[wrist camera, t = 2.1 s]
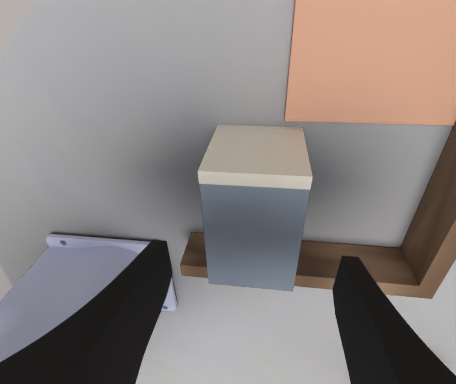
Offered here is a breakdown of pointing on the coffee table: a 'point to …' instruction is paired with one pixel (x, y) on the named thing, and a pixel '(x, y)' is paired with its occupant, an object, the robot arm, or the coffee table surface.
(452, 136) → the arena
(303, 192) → the block
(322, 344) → the coffee table surface
